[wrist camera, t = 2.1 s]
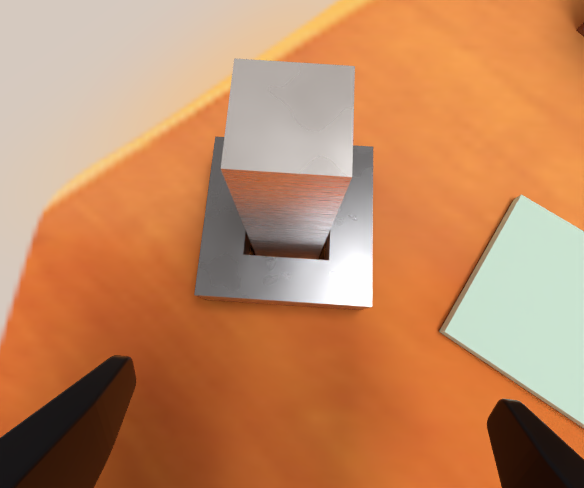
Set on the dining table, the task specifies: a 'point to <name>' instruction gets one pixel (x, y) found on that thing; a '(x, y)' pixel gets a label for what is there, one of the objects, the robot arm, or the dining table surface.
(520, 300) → the pad
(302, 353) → the dining table surface
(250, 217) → the peg
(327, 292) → the socket block
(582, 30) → the milk carton
